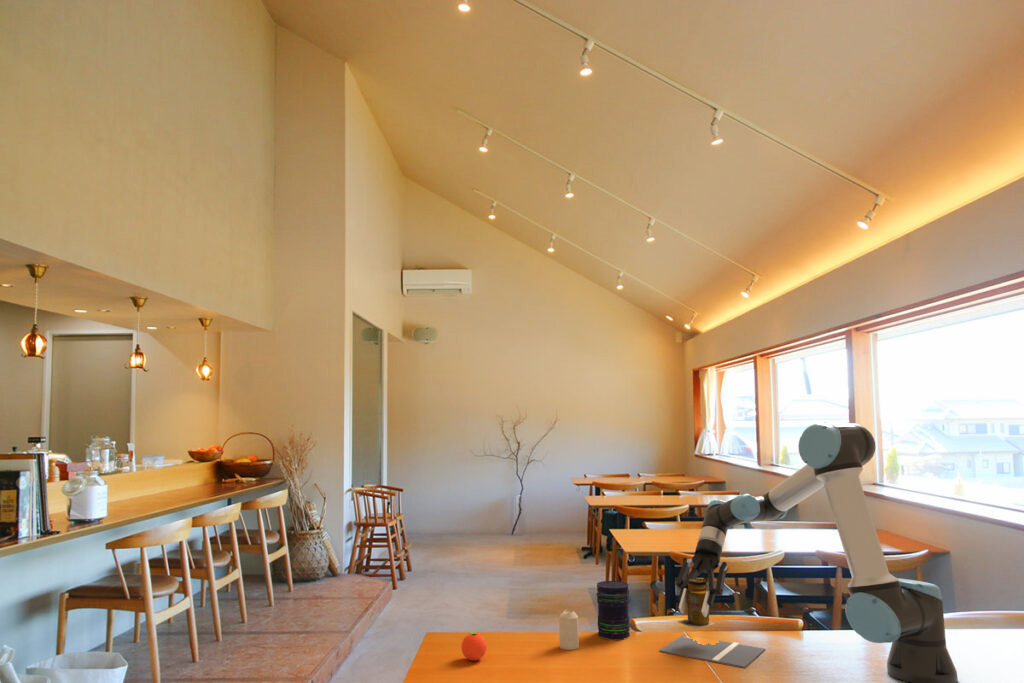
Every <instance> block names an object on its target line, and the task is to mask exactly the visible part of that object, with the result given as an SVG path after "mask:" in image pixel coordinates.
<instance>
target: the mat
mask: <svg viewBox="0 0 1024 683" xmlns="http://www.w3.org/2000/svg"><path fill="white" fill-rule="evenodd" d="M684 637H685V636H683V635H681V636H680V637H678V638H676V639H674V640H673V641H671V642H669V643H668V644H666V645H665V646H663V647H661V648H660V649H659V651H658V652H661V653H665V654H669V655H670V654H671V655H675V656H681V657H686V658H691V659H694V660H695V659H696V660H700V661H705V662H706V661H707V662H712V663H717V664H722V665H727V666H732V667H737V668H742V669H746V668H747V667H748V666H750V665H751V664H752V663H753V662H754V661H755V660H756V659H758V657H760V656H761V655H762V654H763V653H764V652H765V651H766V648H763V647H759V646H758V647H757V646H751V645H746V644H740V642H735V641H734V642H728V641H723V640H718V641H719V643H716V644H715V645H711V644H709V643H708V644H706V645H702V644H698V643H697V641H696V640H695V641H693V639H689V638H684ZM690 638H691V637H690Z"/></svg>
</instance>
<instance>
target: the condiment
mask: <svg viewBox="0 0 1024 683" xmlns="http://www.w3.org/2000/svg"><path fill="white" fill-rule="evenodd" d="M706 591H708V587H707V581H706V580H705V579H702V578H696V579H689V580H688V589H687V604H686V608H687V619H683V620H678V621H676V622H677V623H678V624H681V625H683V626H687V627H690V628H694V629H699V628H703V627H708V626H712V625H716V622H712V621H710V608H709V609H708V613H707V617H704V616H703V614H702V612H701V610H702V606H703V602H704V598H705V594H706Z"/></svg>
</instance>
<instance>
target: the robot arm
mask: <svg viewBox="0 0 1024 683" xmlns="http://www.w3.org/2000/svg"><path fill="white" fill-rule="evenodd" d="M797 447H798V454H799V456H800V458H801V460H802V461H803V463H805V464H806V465H804V466H802V467H801V468H800V469H799V470H796V471H795V472H794V473H793V474H792V475H790V476H789V477H787V478H786V479H784V480H783V481H781V482H780V483H778V484H777V485H776V486H774V487H772V488H771V489H770V490H768V491H767V492H766V493H764V494H763V495H760V496H759V495H757V496H753V495H751V494H749V493H743V494H741V495H736V496H735V497H733V498H732V499H730V500H727V501H725V500H722V499H718V500H717V499H713V500H711V501H710V502H709V503H708V505H707V508H706V510H705V513H704V514H705V515H704V518H703V522H702V525H701V530H700V533H699V535H698V536H699V537H698V539H697V540H698V541H697V544H696V547H695V551H694V555H693V556H692V557H691V558H687V557H685V556H684V557H683V558H682V565H681V568H680V571H679V574H678V576H677V579H676V581H675V585H676V587H677V589H678V590H679V594H678V599H679V606H678V609H679V612H680V613H681V614H685V610H686V608H687V589H688V580H689V579H698V577H699V576H700V575H701V574H703V573H705V574H707V580H708V590H707V591H706V594H705V598H704V602H703V606H702V610H701V612H702V614H703V616H704V617H707V613H708V609H709V610H710V606H711V607H712V606H714V601H715V597H716V596H719V597H722V596H723V593H724V586H725V582H726V581H725V579H726V575H727V572H728V570H729V566H728V564H727V562H726V561H723V562H722V561H720V560H721V558H722V553H723V549H724V545H725V540H726V536H727V532H728V530H729V529H731V528H734V527H736V526H738V525H742V524H745V523H755V522H764V521H765V522H766V521H778V520H782V519H784V518H785V517H786V516H787V514H788V512H789V510H790V509H791V508H793V507H795V506H796V505H798V504H799V503H801V502H802V501H804V500H806V499H807V498H809V497H810V496H811V495H813V494H815V493H816V492H818V491H820V490H822V489H823V487H824V488H825V492H826V495H827V498H828V502H829V505H830V508H831V511H832V515H833V518H834V522H835V525H836V529H837V531H838V536H839V538H840V541H841V546H842V549H843V552H844V556H845V558H846V562H847V566H848V568H849V572H850V575H851V579H850V581H849V582H848V584H847V589H848V591H849V594H850V596H849V597H848V598H847V600H846V603H845V606H844V610H845V611H844V612H845V616H846V619H847V622H848V623H849V625H850V627H851V628H852V629H853V630H854V632H855V633H856V634H857V635H859V636H860V637H862V638H863V639H864V640H865V641H868V642H871V643H875V644H884V643H891V646H890V648H889V653H888V657H887V661H886V668H887V673H888V675H890V676H892V677H893V678H895V679H898V680H899V679H900V681H902V680H903V682H905V681H906V682H905V683H909V682H911V683H956V682H957V681H958V682H959V680H958V677H959V676H958V671H957V668H956V666H955V664H954V661H953V660H952V656H951V655H950V652H949V651H948V647H947V641H946V629H945V627H946V626H945V620H944V619H945V617H944V606H943V603H944V600H943V598H942V591H941V589H940V587H939V586H938V585H937V584H934V583H930V582H926V581H920V580H916V579H915V580H914V579H907V578H900V577H899V578H898V577H896V576H894V575H893V574H891V573H890V572H889V569H888V568H889V567H888V565H887V562H886V558H885V555H884V553H883V549H882V546H881V542H880V539H879V536H878V534H877V530H876V528H875V524H874V520H873V517H872V514H871V512H870V507H869V505H868V501H867V499H866V495H865V492H864V489H863V485H862V483H861V479H860V475H861V473H862V472H863V470H864V467H863V466H865V465H866V464H868V463H869V462H870V461H871V460H872V459H873V457H874V455H875V452H876V447H877V446H876V441H875V437H874V436H873V434H872V433H871V432H870V431H869V430H868V429H867V427H864V426H863V425H860V424H858V423H855V422H825V421H824V422H821V423H814V424H812V425H811V424H810V426H808V427H806V428H805V430H803V431H802V434H801V436H800V437H799V441H798V446H797ZM692 564H693V565H692ZM691 566H692V567H691ZM690 568H691V570H690ZM718 568H719V569H718ZM717 569H718V575H717V579H716V580H717V581H716V583H715V571H716V570H717ZM689 570H690V572H689ZM715 584H716V585H715Z"/></svg>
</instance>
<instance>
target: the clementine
mask: <svg viewBox="0 0 1024 683" xmlns="http://www.w3.org/2000/svg"><path fill="white" fill-rule="evenodd" d="M487 645H488V644H487V641H486V639H485V637H484V636H483V635H481V634H480V633H477V632H474V631H473V632H469V633H468V634H467V635H466V636H464V638H463V639H462V642H461V646H460V647H461V653H462V654H463V656H464V657H465V658H466V659H467V660H469V661H479V660H480V659H482V658H483V657H484V656H485V655H486V651H487Z"/></svg>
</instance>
